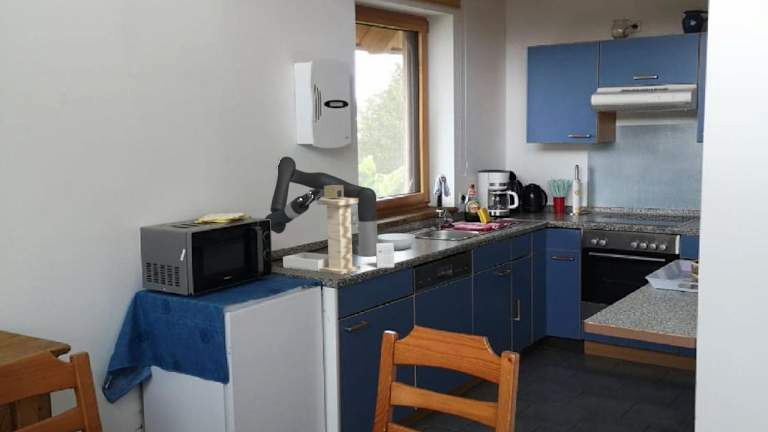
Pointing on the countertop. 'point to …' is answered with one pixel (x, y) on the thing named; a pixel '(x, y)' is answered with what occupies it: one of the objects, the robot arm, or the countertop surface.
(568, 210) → the countertop surface
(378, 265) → the small box
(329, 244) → the birch pedestal
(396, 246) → the serving bowl
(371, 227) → the robot arm
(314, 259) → the grey tray
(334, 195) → the strut
